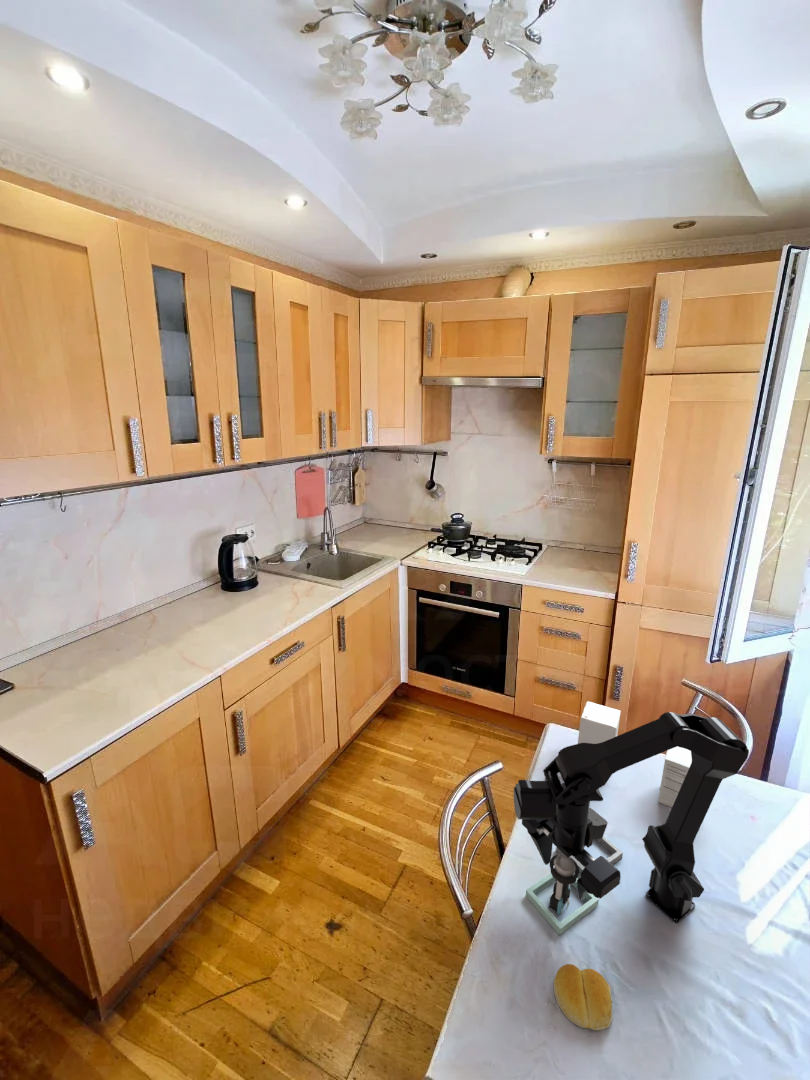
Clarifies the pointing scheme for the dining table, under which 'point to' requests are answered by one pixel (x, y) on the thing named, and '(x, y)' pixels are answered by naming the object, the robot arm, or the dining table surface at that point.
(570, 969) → the bread roll
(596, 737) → the supplement box
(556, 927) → the mint green frame
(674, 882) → the robot arm
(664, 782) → the supplement box
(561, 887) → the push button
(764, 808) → the dining table surface
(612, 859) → the grey rectangular frame
